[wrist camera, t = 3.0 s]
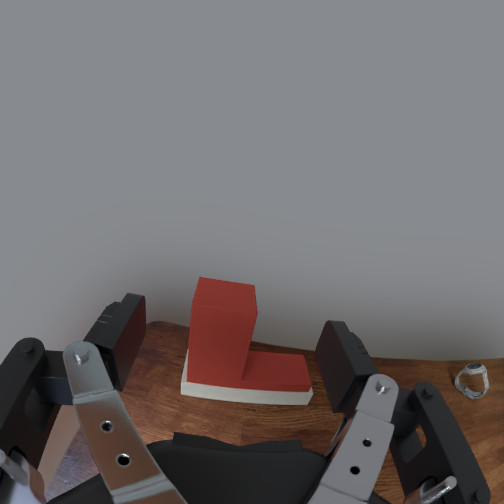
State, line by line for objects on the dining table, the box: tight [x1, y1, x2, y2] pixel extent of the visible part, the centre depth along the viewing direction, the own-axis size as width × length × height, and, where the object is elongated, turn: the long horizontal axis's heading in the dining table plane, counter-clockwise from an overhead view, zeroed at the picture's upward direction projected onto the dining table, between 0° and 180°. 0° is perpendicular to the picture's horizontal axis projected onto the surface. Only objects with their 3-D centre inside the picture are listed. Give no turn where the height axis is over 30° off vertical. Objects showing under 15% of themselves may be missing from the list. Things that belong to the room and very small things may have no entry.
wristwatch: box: [455, 363, 488, 399], centre depth 25 cm, size 4×6×5 cm, turn 27°
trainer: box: [181, 277, 313, 405], centre depth 25 cm, size 13×5×11 cm, turn 93°
